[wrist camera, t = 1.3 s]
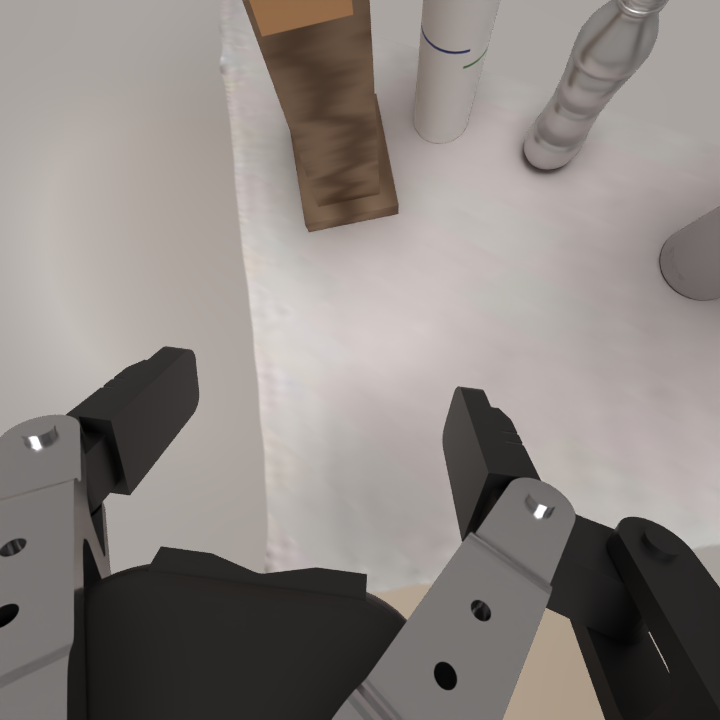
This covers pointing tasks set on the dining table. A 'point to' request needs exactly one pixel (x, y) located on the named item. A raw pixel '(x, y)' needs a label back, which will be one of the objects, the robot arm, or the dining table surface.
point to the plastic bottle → (593, 77)
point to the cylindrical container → (450, 64)
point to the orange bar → (296, 13)
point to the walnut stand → (332, 117)
